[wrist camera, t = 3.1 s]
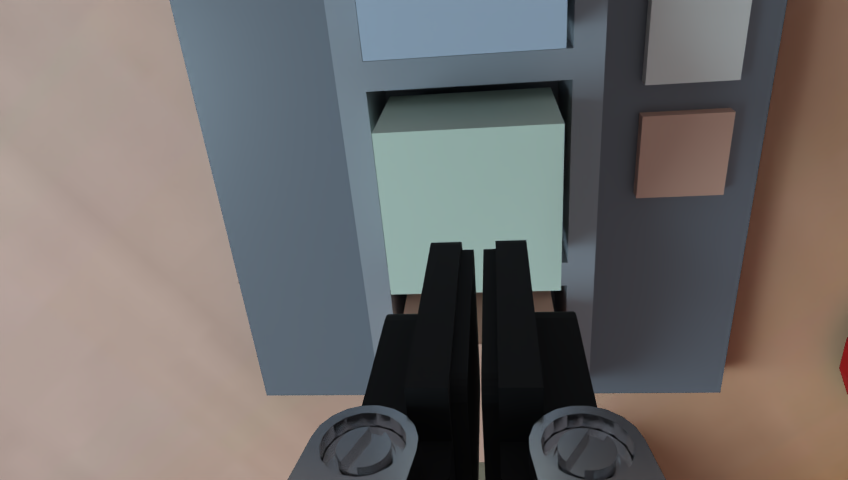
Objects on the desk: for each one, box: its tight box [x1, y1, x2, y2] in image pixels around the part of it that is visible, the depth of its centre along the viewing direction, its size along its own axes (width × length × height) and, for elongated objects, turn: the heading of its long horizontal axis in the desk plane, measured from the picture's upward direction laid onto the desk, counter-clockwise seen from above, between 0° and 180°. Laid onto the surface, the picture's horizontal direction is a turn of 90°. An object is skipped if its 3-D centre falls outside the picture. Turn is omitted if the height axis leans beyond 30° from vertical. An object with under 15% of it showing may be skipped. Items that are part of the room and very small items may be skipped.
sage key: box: [372, 87, 565, 295], centre depth 15 cm, size 4×4×3 cm
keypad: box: [170, 0, 787, 395], centre depth 16 cm, size 24×16×4 cm, turn 5°
